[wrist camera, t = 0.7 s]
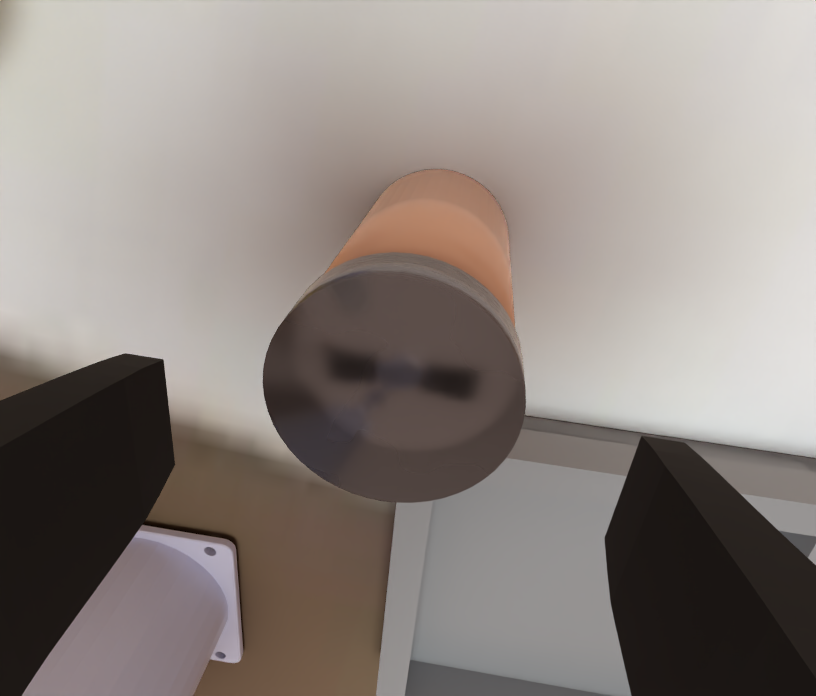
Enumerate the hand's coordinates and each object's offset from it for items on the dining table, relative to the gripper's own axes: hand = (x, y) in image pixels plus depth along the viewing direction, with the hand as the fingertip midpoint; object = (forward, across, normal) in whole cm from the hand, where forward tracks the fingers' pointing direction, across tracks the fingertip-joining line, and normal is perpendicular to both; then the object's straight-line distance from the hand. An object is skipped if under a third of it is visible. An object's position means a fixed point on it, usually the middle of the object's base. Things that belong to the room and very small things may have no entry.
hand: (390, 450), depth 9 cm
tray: (+10, -7, +13) cm, 18 cm away
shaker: (+10, 0, 0) cm, 10 cm away
